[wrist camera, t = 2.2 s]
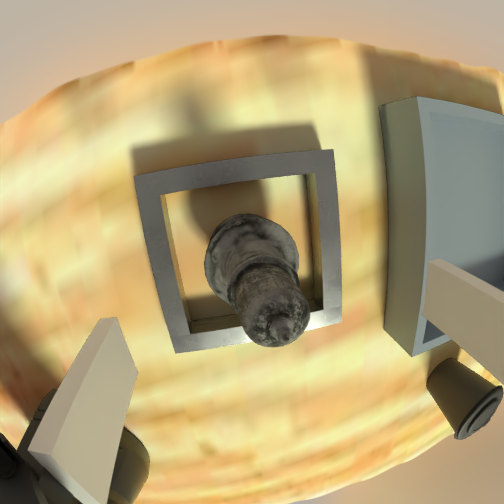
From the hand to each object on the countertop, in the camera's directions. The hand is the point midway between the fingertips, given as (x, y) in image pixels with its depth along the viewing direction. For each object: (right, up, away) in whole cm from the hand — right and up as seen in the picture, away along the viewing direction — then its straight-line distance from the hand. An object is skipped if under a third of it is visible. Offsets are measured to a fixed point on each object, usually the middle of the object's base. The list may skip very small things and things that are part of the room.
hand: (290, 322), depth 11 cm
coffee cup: (+23, -13, +19) cm, 33 cm away
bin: (+20, +6, +13) cm, 24 cm away
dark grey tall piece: (-2, +3, +11) cm, 11 cm away
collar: (-2, +3, +10) cm, 11 cm away
